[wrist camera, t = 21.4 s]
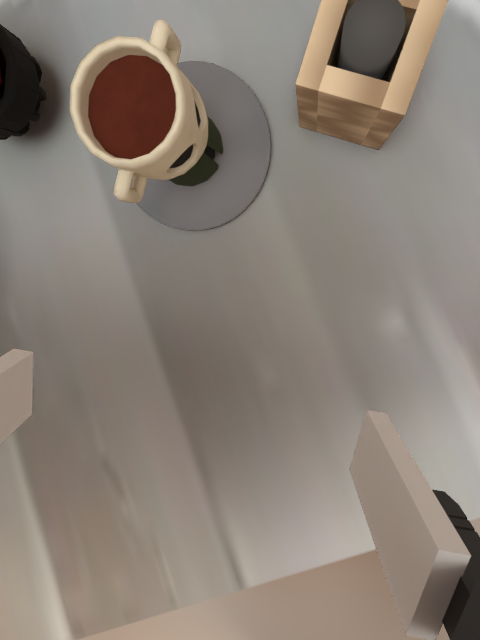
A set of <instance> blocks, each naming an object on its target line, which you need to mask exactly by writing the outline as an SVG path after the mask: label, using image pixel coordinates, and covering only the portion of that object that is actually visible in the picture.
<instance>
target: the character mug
mask: <svg viewBox="0 0 480 640" xmlns="http://www.w3.org/2000/svg"><path fill="white" fill-rule="evenodd" d="M165 48H166V50H165ZM164 51H165V53H164ZM180 52H181V44H180V40H179V39H178V37H177V36H176V34H175V33H174V31H173V30H172V28H171V27H170V25H168V24H167V23H166V22H165V21H164V20H158V21H156V22H155V25H154V27H153V30H152V35H151V39H150V43H149V42H147V41H145V40H144V39H142V38H140V37H124V36H117V37H114V38H112V39H110V40H107V41H105V42H102V43H100V44H98V45H96V46H95V47H94V48H93V49H92V50H91V51H90V52H89V53H88V54H87V55H86V56H85V57H84V58H83V59H82V61H81V62H80V63H79V65H78V68H77V70H76V73H75V75H74V78H73V80H72V83H71V85H70V114H71V117H72V120H73V123H74V126H75V129H76V133H77V135H78V136H79V138H80V139H81V140H82V142H83V143H84V144H85V146H86V147H87V148H88V150H89V151H90V152H91V153H92V154H93V155H95V156H97V157H98V158H100V159H102V160H103V161H105V162H107V163H108V164H110V165H112V166H114V167H116V168H118V169H119V170H118V174H117V178H116V183H115V187H114V195H115V196H116V197H117V198H118V199H119V200H120V201H125V202H130V203H138V202H140V201H141V199H142V197H143V194H144V191H145V187H146V183H147V179H157V180H170V181H171V182H173V183H174V184H176V185H183V186H192V187H193V186H195V185H198V184H200V183H203V182H205V181H207V180H208V179H209V178H210V177H211V176H212V175H213V174H214V173H215V172H216V171H217V170H218V167H219V165H218V164H217V163H216V162H215V161H213V159H214V158H215V151H217V152H219V153H220V154H222V153H223V145H222V138H221V134H220V132H219V130H218V129H217V127H216V126H215V124H214V122H213V121H212V119H210V118H209V117H208V116H207V114H206V110H205V106H204V103H203V101H202V99H201V96H200V94H199V92H198V91H197V90H196V89H195V87H194V86H193V85H192V83H191V82H190V81H189V79H188V78H187V77H186V76H185V75H184V73H183V72H182V71H181V70H180V69H179V68H178V67H177V65H178V61H179V57H180ZM133 174H134V177H133ZM132 178H133V181H132ZM131 182H132V185H131ZM130 186H131V188H130Z"/></svg>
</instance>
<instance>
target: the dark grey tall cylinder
mask: <svg viewBox="0 0 480 640" xmlns="http://www.w3.org/2000/svg"><path fill="white" fill-rule="evenodd" d="M405 25H406V16H405V12H404V9H403V7H402V5H401V3H400V2H399V0H357V1H356V2H355V3H354V4H353V5H352V6H351V8H350V9H349V11H348V13H347V15H346V17H345V20H344V25H343V32H342V38H341V45H340V52H339V58H338V65H337V68H340V69H343V70H347V71H350V72H354V73H358V74H361V75H365V76H369V77H372V78H376V79H379V80H383V79H384V76H385V74H386V72H387V70H388V68H389V65H390V63H391V61H392V59H393V56H394V54H395V52H396V50H397V47H398V45H399V43H400V41H401V39H402V36H403V34H404V31H405Z"/></svg>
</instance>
